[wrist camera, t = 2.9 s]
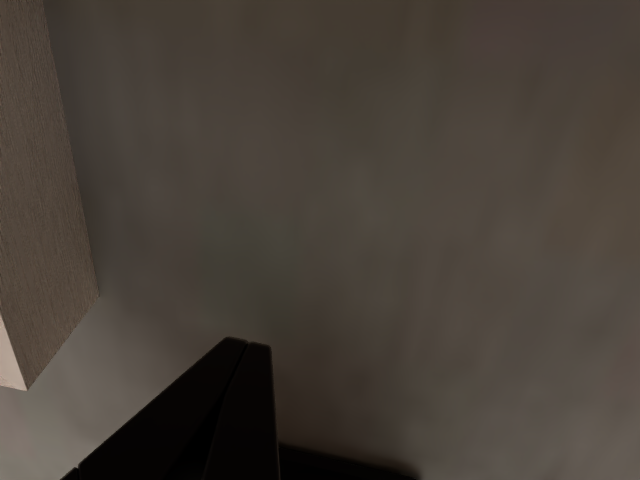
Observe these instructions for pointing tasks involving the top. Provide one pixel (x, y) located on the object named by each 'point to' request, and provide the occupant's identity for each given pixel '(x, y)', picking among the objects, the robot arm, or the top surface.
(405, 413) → the top surface
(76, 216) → the white flat block
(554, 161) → the top surface
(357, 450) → the top surface
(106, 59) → the top surface
